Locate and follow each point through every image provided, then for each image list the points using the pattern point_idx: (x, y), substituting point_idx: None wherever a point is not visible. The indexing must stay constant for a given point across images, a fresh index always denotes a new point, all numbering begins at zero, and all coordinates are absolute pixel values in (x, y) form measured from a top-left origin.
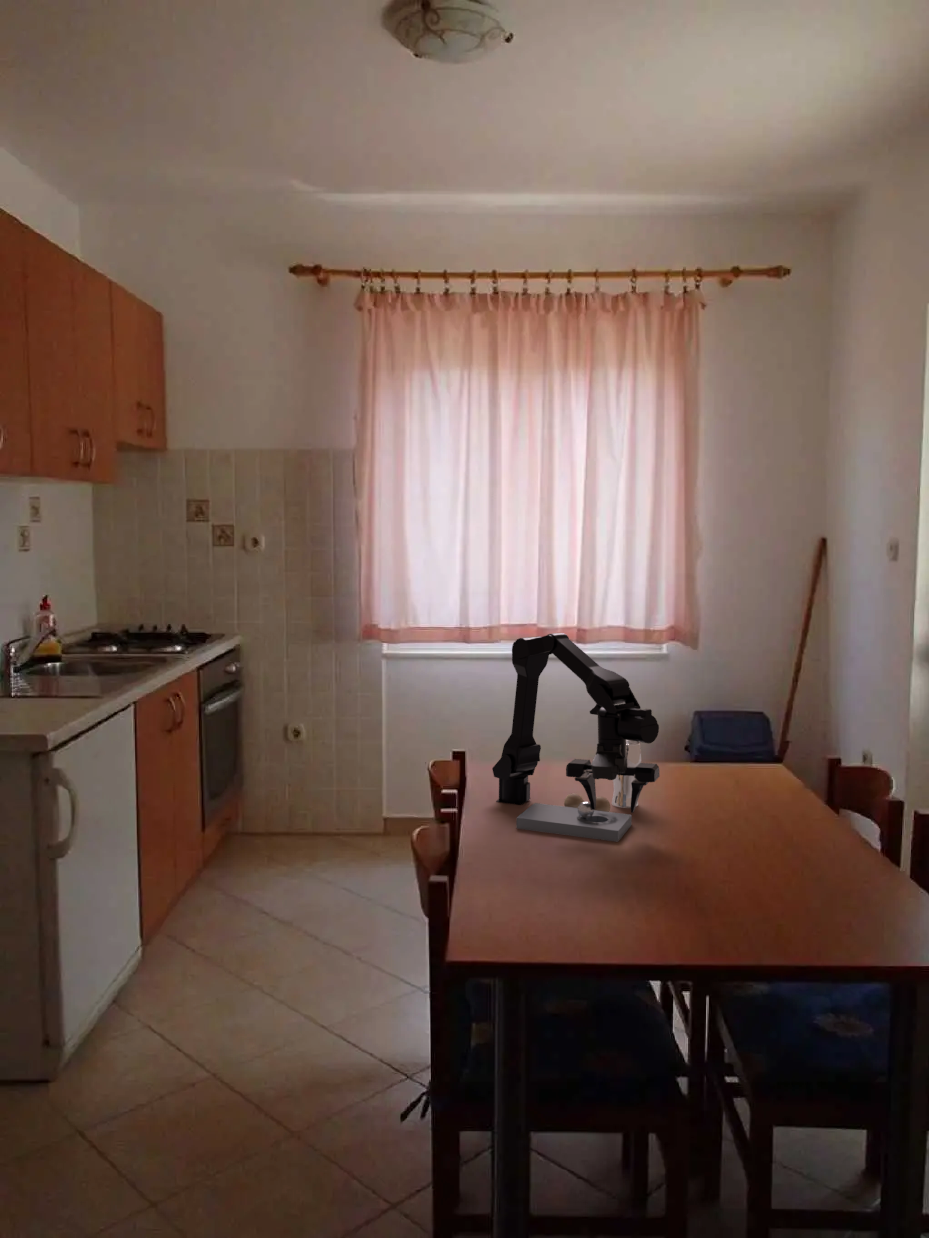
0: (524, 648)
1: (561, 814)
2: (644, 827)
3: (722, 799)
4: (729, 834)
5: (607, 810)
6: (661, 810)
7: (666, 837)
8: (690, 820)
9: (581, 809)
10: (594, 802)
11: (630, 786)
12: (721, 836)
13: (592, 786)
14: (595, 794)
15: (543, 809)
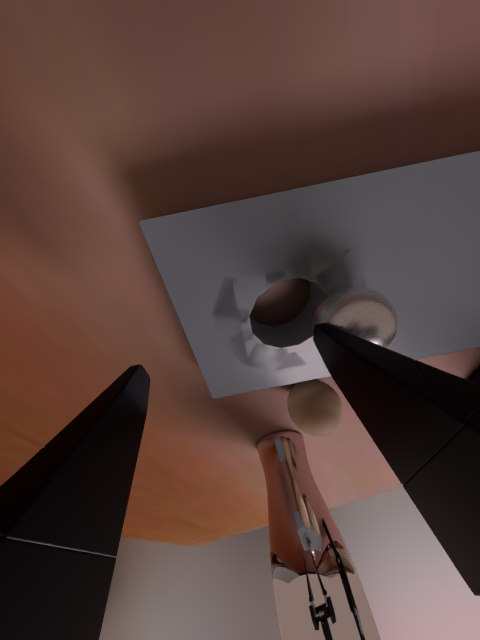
0: None
1: (425, 290)
2: (183, 381)
3: (169, 502)
4: (16, 432)
5: (290, 399)
6: (213, 452)
7: (88, 354)
8: (140, 445)
9: (375, 294)
10: (332, 350)
11: (275, 491)
12: (12, 419)
13: (425, 447)
14: (352, 403)
15: None
